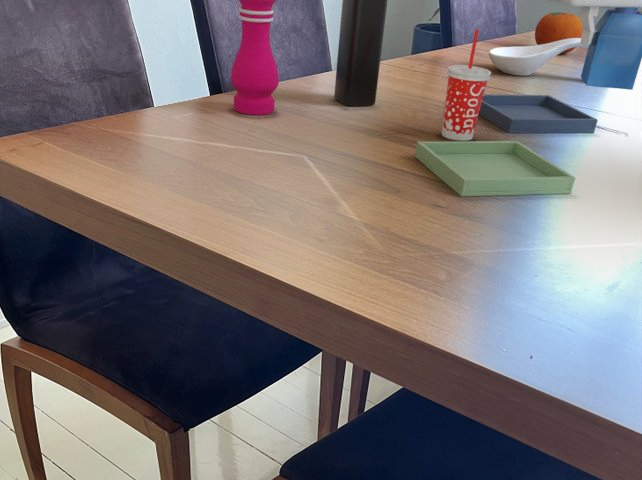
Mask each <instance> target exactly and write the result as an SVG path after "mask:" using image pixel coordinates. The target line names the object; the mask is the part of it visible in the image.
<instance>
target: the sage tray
mask: <svg viewBox="0 0 642 480" xmlns="http://www.w3.org/2000/svg"><path fill="white" fill-rule="evenodd" d="M414 158H416V159H417V160H418V161H419V162H420V163H421V164H423V165H424V166H425V167H426V169H427V168H428V169H429V170H430V171H431V172H432V173H433V174H435V175H436V176H437V177H438V178H439V179H440V180H442V182H444V183H445V184H446V185H447V186H449V188H451V189H452V190H453V191H454V192H455V193H457V194H458V195H459V196H460V197H486V196H487V197H488V196H489V197H490V196H491V197H492V196H493V197H495V196H527V195H528V196H530V195H531V196H532V195H535V196H536V195H569V194H570V195H571V194H572V191H573V188H574V184H575V181H576V177H575V176H573V175H572V174H571V173H569V172H568V171H565V170H564V169H563V168H561V167H560V166H558V165H556V164H554V163H553V162H551V161H550V160H548V159H546V158H545V157H544V156H542V155H540V154H539V153H537V152H535V151H534V150H533V149H531V148H529V147H528V146H526V145H524V144H523V143H521V142H520V141H518V140H489V141H488V140H477V141H475V140H474V141H473V140H466V141H460V140H453V141H449V140H448V141H417V142H416V147H415V153H414Z"/></svg>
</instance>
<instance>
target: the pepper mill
mask: <svg viewBox="0 0 642 480" xmlns="http://www.w3.org/2000/svg"><path fill="white" fill-rule="evenodd" d="M276 1H277V0H238V2H239V3H240V7H239V8H238V12H239V15H238V19H239V20H241V40H240V41H241V42H240V44H239V45H240V46H239V48H238V51H237V54H236V56H235V58H234V61H233V63H232V67H231V70H230V83H231V85H232V87H233V88H234V90H235V91H236V94H235V95H234V96H233V110H234V111H236V112H238V113H240V114H244V115H249V116H266V115H270V114H273V113H274V111H275V103H276V102H275V100H276V99H275V97H273V96H272V95H273V93H274V92H275V91H276V89H278V86H279V80H280V79H279V71H278V66H277V63H276V59H275V57H274V54H273V51H272V46H271V41H270V39H271V38H270V37H271V36H270V30H271V24H272V22H274V13H275V11H274V9H273V5H274V4H275V2H276Z"/></svg>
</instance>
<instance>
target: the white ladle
mask: <svg viewBox="0 0 642 480" xmlns="http://www.w3.org/2000/svg"><path fill="white" fill-rule="evenodd" d="M573 47H576V48H583V49H586V50H587V51H588V47H589V46H585V45H582V44H581V38H570V39H564V40H559V41H556V42H551V43H547V44H542V45H537V44H535V45H525V46H523V45H522V46H501V47H494V48H492V49H490V50H488V57H489V59H490V61H491V63H492V65H494V66H495V67H496V68H497V69H498V70H499V71H501V72H502V73H504V74H508V75H513V76H522V77H525V76H531V75H532V74H533V73H535V72H537V71H538V70H539V69H541V68H542V67H543V66H544V65H546V64H547V63H548V62H550V61H551V60H552V59H553V58H555V57H556V56H558V55H559V54H562V53H561V52H563V51H565V50H567V49H569V48H573Z"/></svg>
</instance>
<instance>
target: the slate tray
mask: <svg viewBox="0 0 642 480" xmlns="http://www.w3.org/2000/svg"><path fill="white" fill-rule="evenodd" d="M478 116H481V117H482V118H484V119H485V120H487V121H489V122H491V123H492V124H494V125H495V126H496V127H498V128H500V129H501V130H502V131H505V132H507V133H508V134H594V133H595V131H596V128H597V124H598V121H599V120H598V118H595V117H593V116H591V115H589V114H588V113H586V112H584V111H581V110H579V109H577V108H576V107H574V106H571V105H570V104H567V103H565V102H564V101H561V100H559V99H557V98H555V97H554V96H551V95H548V94H544V95H543V94H484V96H483V100H482V103H481V107H480V111H479V115H478Z"/></svg>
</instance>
